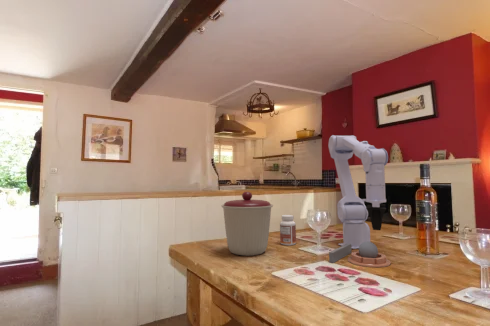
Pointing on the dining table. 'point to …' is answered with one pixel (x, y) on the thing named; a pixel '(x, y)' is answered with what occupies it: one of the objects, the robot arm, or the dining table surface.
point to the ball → (368, 250)
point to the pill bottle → (287, 230)
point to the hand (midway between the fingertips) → (376, 228)
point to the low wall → (340, 253)
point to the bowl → (369, 260)
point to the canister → (247, 225)
